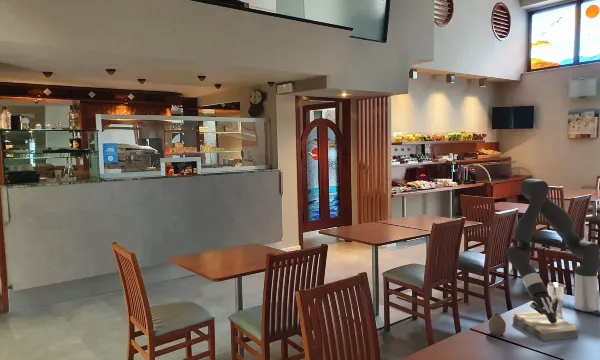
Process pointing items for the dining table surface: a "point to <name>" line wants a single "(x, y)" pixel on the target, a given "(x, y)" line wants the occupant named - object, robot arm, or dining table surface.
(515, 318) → the floor board
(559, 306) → the metal can
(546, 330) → the oak plank
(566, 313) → the dining table surface
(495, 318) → the vase
